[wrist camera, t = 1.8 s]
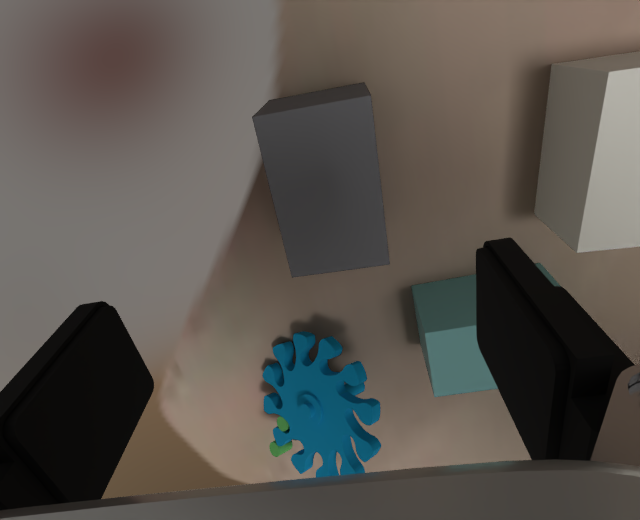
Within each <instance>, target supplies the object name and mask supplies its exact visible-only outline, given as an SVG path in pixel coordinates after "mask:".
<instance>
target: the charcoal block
mask: <svg viewBox="0 0 640 520" xmlns="http://www.w3.org/2000/svg"><path fill="white" fill-rule="evenodd" d="M252 118H253V122H254V127H255V130H256V135H257V139H258V143H259V147H260V151H261V155H262V159H263V163H264V167H265V171H266V175H267V179H268V183H269V187H270V191H271V195H272V199H273V203H274V207H275V211H276V215H277V219H278V223H279V227H280V231H281V235H282V239H283V243H284V247H285V251H286V255H287V259H288V263H289V267H290V271H291V275H292V277H299V276H307V275H314V274H322V273H329V272H337V271H344V270H352V269H359V268H366V267H374V266H381V265H389V264H390V262H389V253H388V244H387V235H386V226H385V217H384V208H383V199H382V190H381V181H380V172H379V163H378V154H377V145H376V136H375V127H374V118H373V110H372V101H371V94H370V93H369V91H368V89H367V87H366V85H365V83H359V84H353V85H348V86H343V87H337V88H332V89H327V90H322V91H316V92H311V93H306V94H300V95H295V96H290V97H285V98H279V99H274V100H273V99H272V100H269V101H268V102H267V103H266V104H265V105H264V106H263V107H262V108H261V109H260V110H259V111H258V112H257V113H256V114H255V115H254V116H253V117H252Z"/></svg>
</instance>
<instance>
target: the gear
mask: <svg viewBox="0 0 640 520" xmlns="http://www.w3.org/2000/svg"><path fill="white" fill-rule="evenodd" d="M293 342H294V345H295V350H296V362H295V365H294V363H293V354H294V346H293V344H292V342H291V341H288V342H285V343H281V344H278V345H276V346H275V347H273V353H274V355H275V357H276V358H277V359H278V361H279V363H280V365H281V367H282V369H281V367H280V365H279V364H278V363H274V364H271V365H268V366H267V367H266V368H265V370H264V373H263V378H264V380H265V381H266V382H267V383H269V384H271V385H272V386H273V387H274V388H275V389H276V390H277V392H278V393H279V395H280V396H279V395H278V394H277V393H271V394H269V395H266V396H265V397H264V411H265V412H266V413H268V414H272V413H275V414H278V415H280V417H278V419H277V425H278V427H276V428H274V429H273V434H274V438H275V441H273V442H272V443H270V451H271V453H272V455H273V456H275V457H278V456H279V455H281V454H283V453H285V452H286V451H288V450H290V449H291V448H292V441H291V440H292V439H293V440H299V441H301V443H302V444H303V446H304V449H303V450H301V451H299V452H297V453H296V454H294V455H293V456H292V458H291V461H292V463H293V465H294V466H295V468H296V469H297V470H298V471H299V473H300V474H302V473H303V472H305V471H307V470H308V469H310V468H311V467H312V465H313V458H314V454H315V453H316V452H318V453H319V454H320V455H321V456H322V459H323V465H322V467H320V468H319V469H318V470H317V471H316V478H317V477H328V476H338V475H339V473H338V470H337V466H336V453H337V452H338V453H339V454H340V455H341V458H342V465H341V468H340V474H341V475H349V474H360V473H365V470H364V467H363V465H362V464H361V463H360V461H359V460H358V458H357V457H356V455H355V453H354V450H353V448H352V444H351V438H350V436H351V437H352V438H353V439H354V442H355V446H356V451H357V454H358V456H359V458H360V459H361V460H362V461H364V462H366V461H368V460H369V459H370V458H372V457H373V456H374V455H376V454H377V453H378V451H379V449H380V448H381V444H380V442H379V440H378V439H377V438H376V437H375V436H372V435H370V434H369V433H368V432H366V431H365V430H364V429H363V428H362V427H361V426H360V424H359V423H358V421H357V420H356V418H355V416H354V414H353V410H354V411H355V412H356V414H357V415H358V417H359V419H360V420H361V421H362V422H363V423H364V424H366V425H372V424H373V423H375V422H376V421H378V420H379V418H380V402H379V401H377V400H376V399H373V398H370V399H360V398H358V397H356V396H355V395H357V394H359V393H361V392H363V391H364V389H365V385H364V382H365V381H366V380H367V376H366V372H365V370H364V367H363V365H362V363H361V362H360V361H356V362H353V363H351V364H348V365H346V366H345V367H344V369H343V370H342V371H341V372H333V371H331V370H330V369H329V367H328V359H331V358H334V357H336V356H339V355H340V354H341V353H342V350H343V348H342V346H341V345H340V343H339V342H338V341H337V340H336V339H335V338H334V337H332V336H330V337H327V338H324V339H322V340H321V341H320V343H319V350H318V354H317V357H316V359H315V361H314V362H312V361H311V360H310V358H309V350H310V349H311V348H312V347H313V346H314V345H315V335H314V334H312V333H310V332H305V331H302V332H298V333H295V334H294V336H293ZM282 370H283V373H282ZM283 375H284V378H283ZM344 382H346V383H347V384H345V385H344ZM280 397H281V398H280ZM281 399H282V400H281Z"/></svg>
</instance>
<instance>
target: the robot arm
mask: <svg viewBox="0 0 640 520" xmlns="http://www.w3.org/2000/svg"><path fill="white" fill-rule="evenodd" d="M476 335H477V342H478V346H479V349H480V352H481V354H482V356H483V358H484V360H485V362H486V364H487V366H488V368H489V370H490V373H491V375H492V377H493V379H494V381H495V383H496V385H497V387H498V389H499V392H500V394H501V396H502V398H503V400H504V402H505V404H506V406H507V408H508V410H509V413H510V415H511V417H512V419H513V421H514V423H515V425H516V427H517V429H518V431H519V434H520V436H521V438H522V440H523V442H524V444H525V446H526V448H527V450H528V453H529V455H530V457H531V459H532V460H523V461H501V462H488V463H475V464H463V465H450V466H437V467H424V468H412V469H402V470H391V471H381V472H370V473H360V474H349V475H338V476H328V477H317V478H307V479H296V480H286V481H276V482H266V483H255V484H245V485H237V486H236V485H235V486H225V487H215V488H205V489H195V490H186V491H176V492H166V493H157V494H146V495H136V496H128V497H118V498H109V499H101V498H102V496H103V494H104V492H105V489H106V487H107V485H108V483H109V481H110V479H111V477H112V475H113V473H114V471H115V469H116V467H117V465H118V463H119V461H120V458H121V456H122V454H123V452H124V450H125V448H126V446H127V444H128V442H129V440H130V438H131V436H132V434H133V432H134V430H135V427H136V426H137V423H138V421H139V419H140V417H141V415H142V413H143V411H144V409H145V407H146V405H147V403H148V401H149V399H150V397H151V394H152V392H153V389H154V382H153V378H152V376H151V374H150V372H149V371H148V369H147V367H146V365H145V363H144V361H143V359H142V357H141V356H140V354H139V352H138V350H137V348H136V347H135V345H134V343H133V341H132V339H131V337H130V335H129V333H128V331H127V329H126V328H125V326H124V324H123V322H122V320H121V318H120V316H119V314H118V313H117V311H116V309H115V308H114V307H113V306H109V305H108V304H107V303H106V302H103V301H101V302H95V303H89V304H83V305H80V306H78V307H77V308H76V309H75V310H74V312H73V313H72V314H71V315H70V316H69V317H68V318H67V319H66V320H65V321H64V322H63V323H62V325H61V326H60V327H59V328H58V329H57V330H56V331H55V333H54V334H53V335H52V336H51V337H50V338H49V339H48V340H47V341H46V342H45V343H44V345H43V346H42V347H41V348H40V349H39V350H38V351H37V352H36V353H35V354H34V356H33V357H32V358H31V359H30V360H29V361H28V362H27V363H26V364H25V365H24V367H23V368H22V369H21V370H20V371H19V372H18V373H17V374H16V375H15V376H14V378H13V379H12V380H11V381H10V382H9V383H8V384H7V385H6V387H5V388H4V389H3V390H2V391H1V392H0V520H640V365H634V364H633V363H632V362H631V360H630V359H629V358H628V357H627V356H626V355H625V354H624V353H623V352H622V351H621V350H620V348H619V347H618V346H617V345H616V344H615V343H614V342H613V341H612V340H611V339H610V338H609V336H608V335H607V334H606V333H605V332H604V331H603V330H602V329H601V328H600V327H599V326H598V324H597V323H596V322H595V321H594V320H593V319H592V318H591V317H590V316H589V315H588V314H587V312H586V311H585V310H584V309H583V308H582V307H581V306H580V305H579V304H578V303H577V302H576V300H575V299H574V298H573V297H572V296H571V295H570V294H569V293H568V292H567V291H566V290H565V289H564V288H563V287H560V286H554V285H553V284H552V283H551V282H550V281H549V280H548V278H547V277H546V276H545V275H544V274H543V273H542V272H541V271H540V269H539V268H538V267H537V266H536V265H535V264H534V263H533V262H532V260H531V259H530V258H529V257H528V256H527V255H526V254H525V253H524V251H523V250H522V249H521V248H520V247H519V246H518V245H517V243H516V242H515V241H514V240H513V239H512V238H504V239H498V240H491V241H486V242H485V243H484V246H483V248H479V249H477V251H476Z"/></svg>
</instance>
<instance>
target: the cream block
mask: <svg viewBox="0 0 640 520" xmlns="http://www.w3.org/2000/svg"><path fill="white" fill-rule="evenodd" d="M534 214H535V215H536V216H537V217H538V218H539V219H540V220H541V221H542V222H543V223H544V224H546V225H547V226H548V227H549V228H550V229H551V230H552V231H553V232H554V233H555V234H557V235H558V236H559V237H560V238H561V239H562V240H563V241H564V242H565V243H566V244H567V245H569V246H570V247H571V248H572V249H573V250H574V251H575V252H576V253H581V252H591V251H600V250H610V249H620V248H630V247H640V51H637V52H630V53H623V54H617V55H610V56H603V57H596V58H589V59H583V60H576V61H569V62H562V63H556V64H552V65H551V74H550V82H549V91H548V99H547V108H546V116H545V125H544V133H543V142H542V151H541V159H540V168H539V176H538V185H537V193H536V202H535V210H534Z"/></svg>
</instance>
